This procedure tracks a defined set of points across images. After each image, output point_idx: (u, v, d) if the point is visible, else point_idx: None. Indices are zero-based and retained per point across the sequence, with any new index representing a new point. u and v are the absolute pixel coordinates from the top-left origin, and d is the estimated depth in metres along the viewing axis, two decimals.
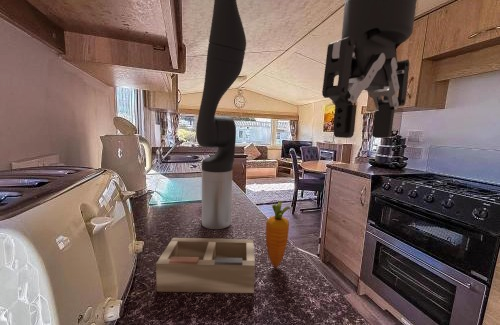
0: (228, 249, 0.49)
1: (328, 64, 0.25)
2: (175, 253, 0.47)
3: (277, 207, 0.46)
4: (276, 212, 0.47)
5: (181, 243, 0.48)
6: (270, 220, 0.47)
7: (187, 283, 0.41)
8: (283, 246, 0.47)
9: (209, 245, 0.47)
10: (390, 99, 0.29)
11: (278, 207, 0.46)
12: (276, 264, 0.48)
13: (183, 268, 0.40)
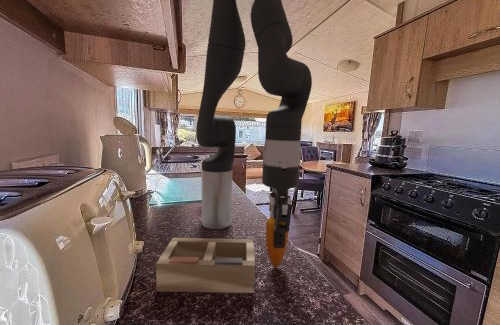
0: (228, 249, 0.49)
1: (279, 217, 0.41)
2: (175, 253, 0.47)
3: None
4: (276, 212, 0.47)
5: (181, 243, 0.48)
6: (270, 220, 0.47)
7: (187, 283, 0.41)
8: None
9: (209, 245, 0.47)
10: None
11: None
12: (276, 264, 0.48)
13: (183, 268, 0.40)
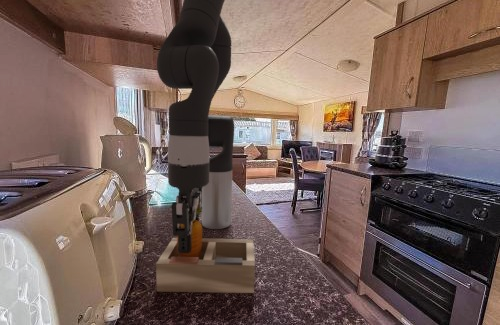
0: (228, 249, 0.49)
1: (174, 218, 0.37)
2: (175, 253, 0.47)
3: None
4: None
5: None
6: None
7: (187, 283, 0.41)
8: (193, 252, 0.43)
9: (209, 245, 0.47)
10: None
11: None
12: None
13: (183, 268, 0.40)
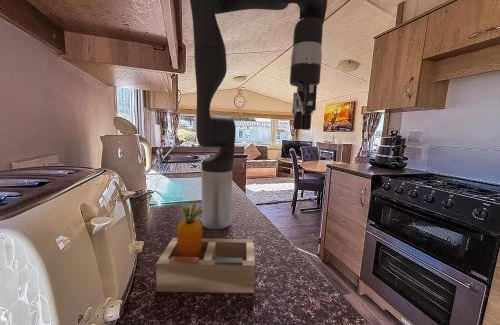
0: (228, 249, 0.49)
1: (307, 94, 0.52)
2: (175, 253, 0.47)
3: (185, 210, 0.42)
4: (185, 215, 0.43)
5: None
6: (180, 224, 0.44)
7: (187, 283, 0.41)
8: (193, 252, 0.43)
9: (209, 245, 0.47)
10: None
11: (186, 210, 0.42)
12: None
13: (183, 268, 0.40)
